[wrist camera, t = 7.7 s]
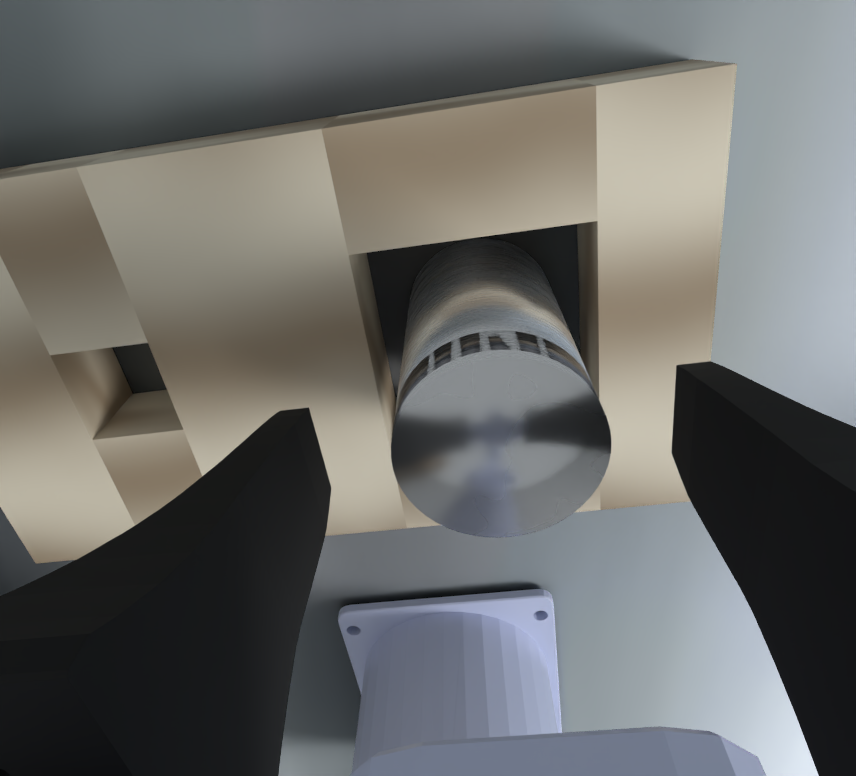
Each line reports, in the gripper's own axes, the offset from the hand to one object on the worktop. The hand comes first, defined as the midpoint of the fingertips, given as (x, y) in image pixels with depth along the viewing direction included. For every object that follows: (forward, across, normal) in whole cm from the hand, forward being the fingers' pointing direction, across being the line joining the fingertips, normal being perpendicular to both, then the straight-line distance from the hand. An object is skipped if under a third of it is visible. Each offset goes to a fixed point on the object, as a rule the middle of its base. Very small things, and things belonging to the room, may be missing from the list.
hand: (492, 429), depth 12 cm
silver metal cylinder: (+6, 0, 0) cm, 6 cm away
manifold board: (+6, +4, 0) cm, 7 cm away
